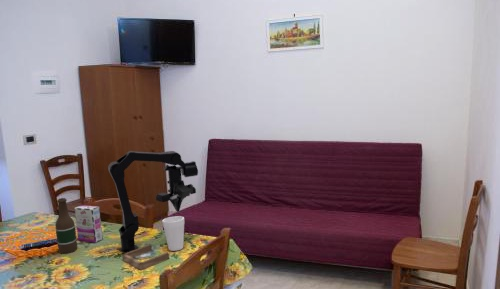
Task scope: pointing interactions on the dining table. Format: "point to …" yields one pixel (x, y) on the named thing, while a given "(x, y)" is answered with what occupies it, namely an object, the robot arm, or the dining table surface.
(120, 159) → the robot arm
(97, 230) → the candy bar box
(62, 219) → the beer bottle
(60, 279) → the dining table surface
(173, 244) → the foam cup
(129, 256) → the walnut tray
